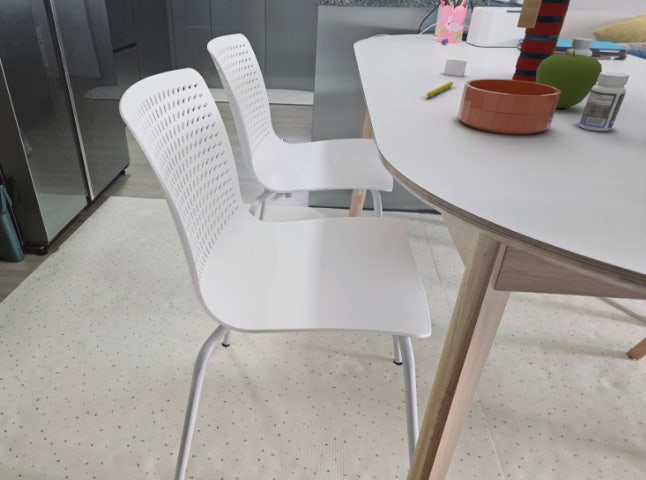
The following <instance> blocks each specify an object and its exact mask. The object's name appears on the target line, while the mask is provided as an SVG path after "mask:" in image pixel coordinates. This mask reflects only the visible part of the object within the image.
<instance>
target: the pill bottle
mask: <svg viewBox="0 0 646 480" xmlns="http://www.w3.org/2000/svg"><path fill="white" fill-rule="evenodd" d="M629 78H630V74H629V73H626V72H618V71H602V72H601V73H600V74H599V77H598V79H597V80H598V81H597V83H596V85H594V86H593V87H592V89H591V91H590V92H589V94H588V98H587V101H586V103H585V106H584V109H583V112H582V115H581V118H580V120H579V124H578V126H579V127H580V128H582V129H584V130H588V131H594V132H609V131H611V130H612V129H613V127H614V125H615V121H616V119H617V117H618V114H619V111H620V109H621V107H622V104H623V101H624V99H625V96H626V93H627V88H626V87H625V86H626V85H627V83H628V82H629V81H628V80H629Z"/></svg>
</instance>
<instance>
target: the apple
mask: <svg viewBox="0 0 646 480" xmlns="http://www.w3.org/2000/svg"><path fill="white" fill-rule="evenodd" d="M601 72H603V67H602V63H601V62H600V61H599V60H598V59H597V58H596V57H593V56H591V57H589V56H584V55H575V51H573V54H565V53H556V54H555V53H554V55H551V56H549V57H548V58H546V59H544V60H543V61H542V62H541V64H540V65H539V67H538V68H537V74H536V83H541V84H546V85H550V86H553V87H556V88H558V89H560V90H561V94H560V97H559V100H558V103H557V106H556V109H569V108H571V107H574V106H575V105H578V104H581V103H582V102H583V101H584V99H585V98H586V97H587V96H589V95H590V92H591V89H592V87H593V86H594V85H597V84H598V82H597V81H598V80H597V79H598V77H599V74H600V73H601Z"/></svg>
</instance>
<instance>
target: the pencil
mask: <svg viewBox="0 0 646 480" xmlns="http://www.w3.org/2000/svg"><path fill="white" fill-rule="evenodd" d="M453 85H454V83H453V81H449V82H447V83H445V84H442V85H441V86H438V87H437V88H434V89H432V90H430V91H428V92H427V93H426V97H427V98H432V97H434V96H435V95H438V94H439V93H441V92H443V91H445V90H447V89H449V88H451V87H453Z"/></svg>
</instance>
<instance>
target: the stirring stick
mask: <svg viewBox="0 0 646 480" xmlns="http://www.w3.org/2000/svg"><path fill="white" fill-rule="evenodd" d="M541 1H542V0H523V2H522V5H521V10H520V13H519V17H518V21H517V25H516V27H517V28H521V29H526V28H534V26H535V23H536V19H537V15H538V12H539V8H540V4H541Z"/></svg>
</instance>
